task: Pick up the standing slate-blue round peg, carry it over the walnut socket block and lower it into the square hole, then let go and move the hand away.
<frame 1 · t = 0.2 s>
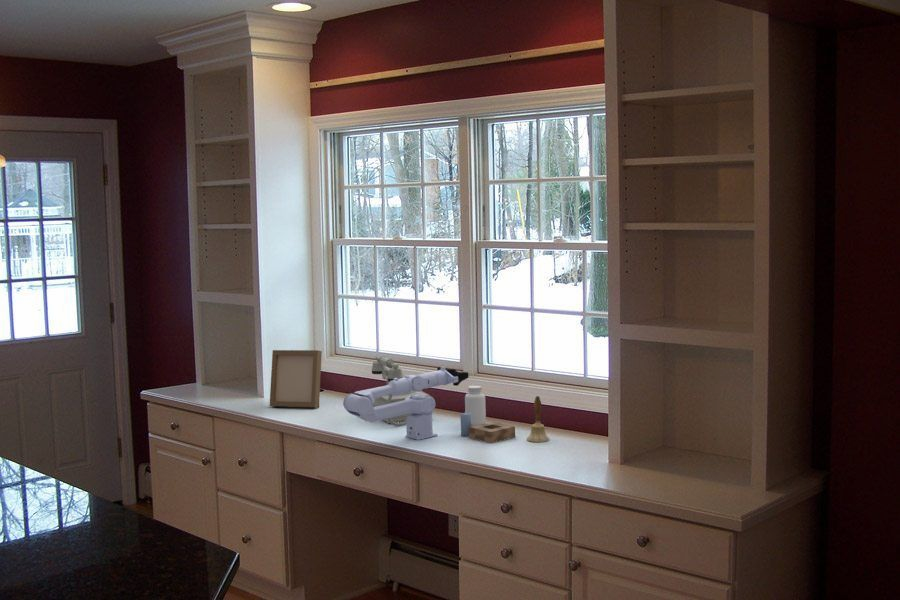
hand: (461, 373, 377), 21 cm above the countertop, tool horizontal, fingers open, 7 cm apart
photo frame: (299, 405, 434), on the countertop
hand bell: (538, 440, 355), on the countertop
pill bottle: (475, 424, 384), on the countertop
grey machine: (399, 418, 401), on the countertop
peg: (466, 435, 366), on the countertop
socket block: (492, 437, 361), on the countertop
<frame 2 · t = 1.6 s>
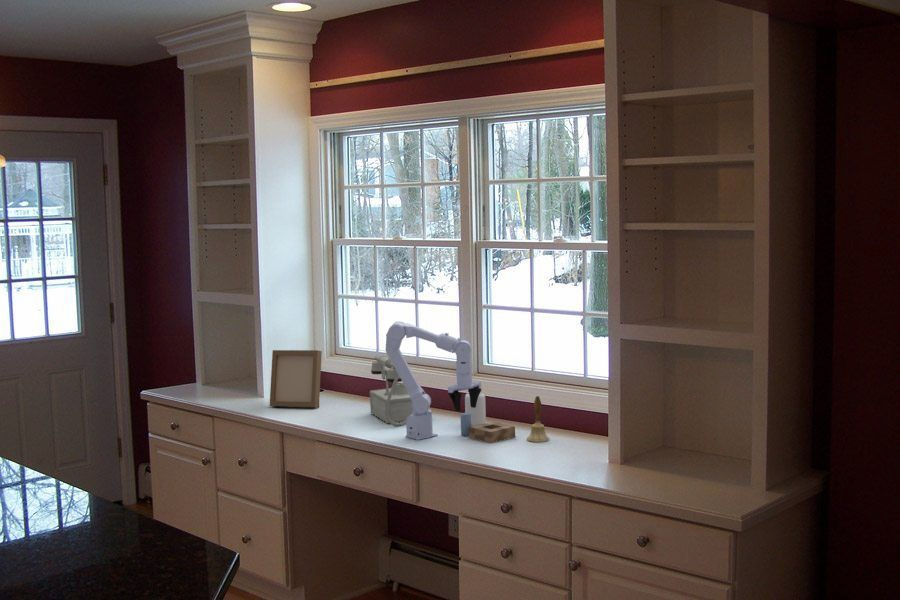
hand: (465, 409, 365), 10 cm above the countertop, tool pointing down, fingers open, 7 cm apart
nothing on the countertop moved.
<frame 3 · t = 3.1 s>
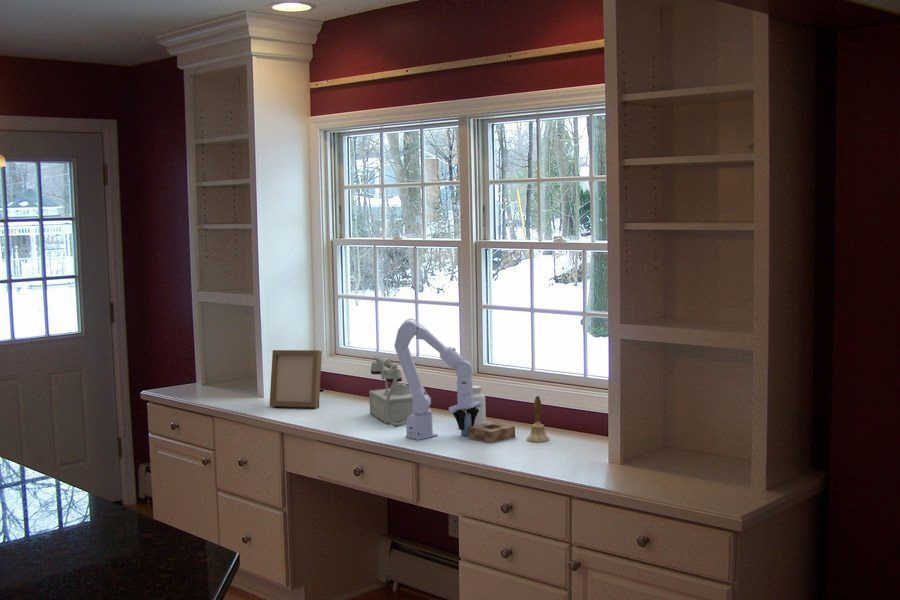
hand: (466, 428, 366), 2 cm above the countertop, tool pointing down, fingers closed on peg, 4 cm apart
peg: (466, 435, 366), on the countertop, touching gripper
everything else where it was.
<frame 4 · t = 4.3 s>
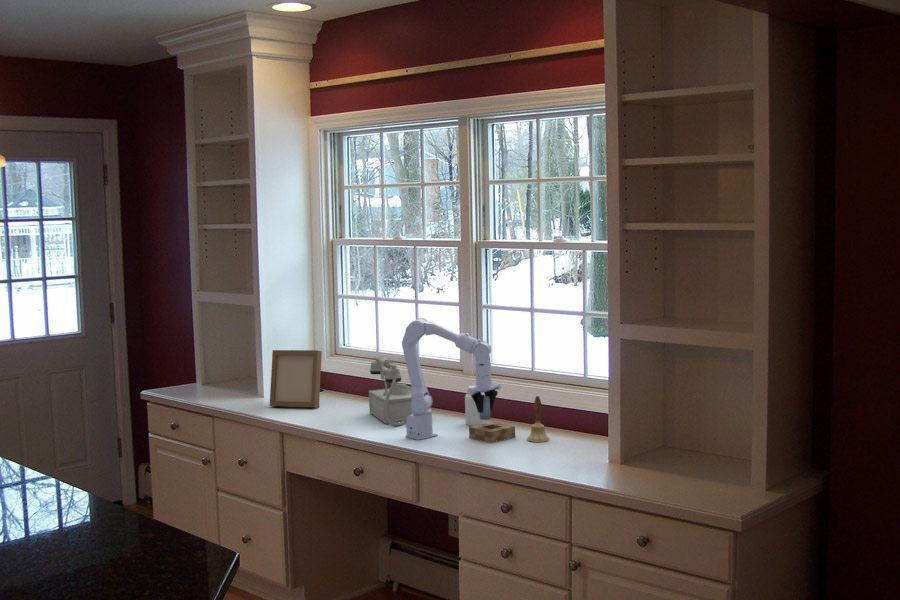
hand: (485, 411, 361), 10 cm above the countertop, tool pointing down, fingers closed on peg, 4 cm apart
peg: (485, 418, 362), point 7 cm above the countertop, touching gripper
everything else where it was.
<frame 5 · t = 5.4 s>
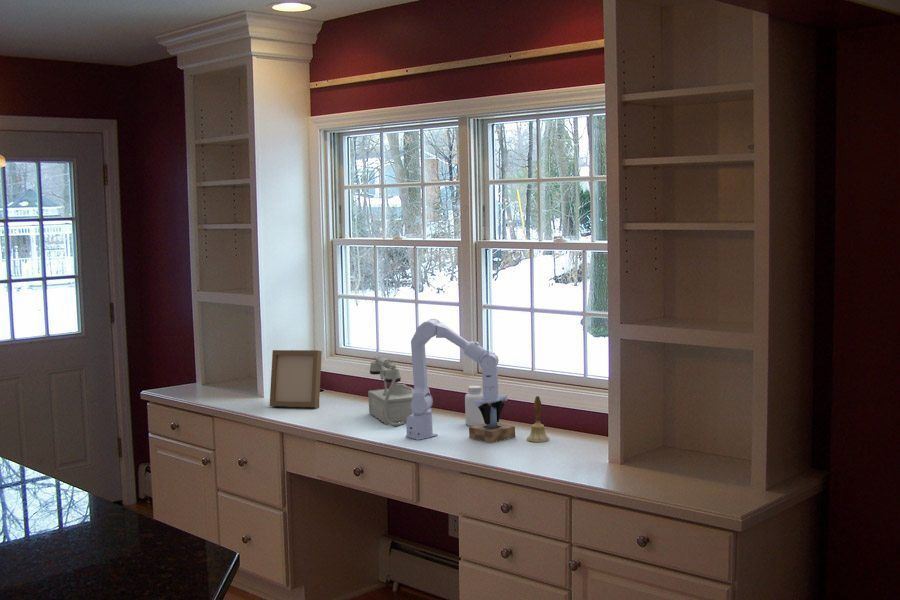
hand: (491, 422, 360), 5 cm above the countertop, tool pointing down, fingers closed on peg, 4 cm apart
peg: (491, 429, 361), point 3 cm above the countertop, touching gripper
when the fingers open (5 cm above the countertop, at t = 6.0 s): peg drops 2 cm, resting in socket block.
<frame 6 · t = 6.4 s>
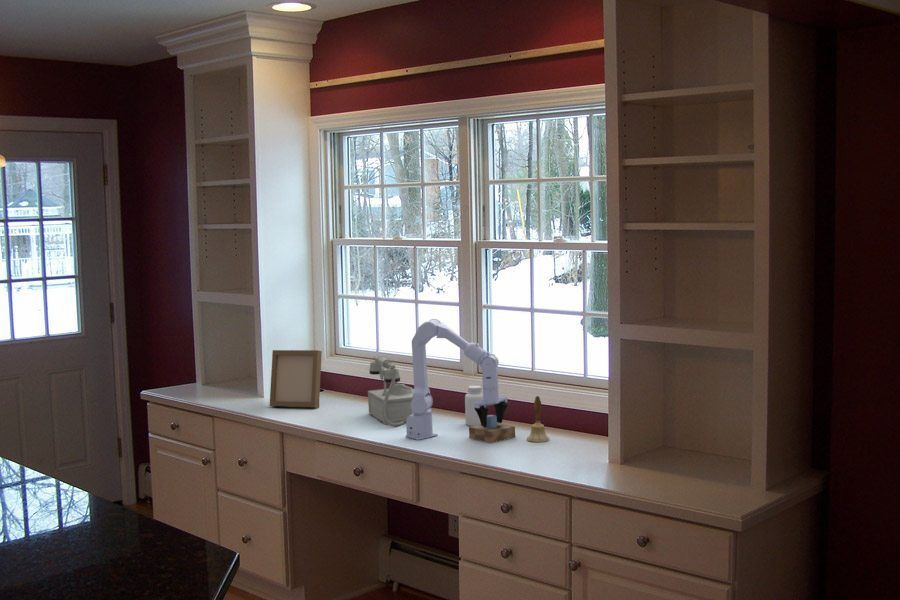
hand: (491, 424, 360), 5 cm above the countertop, tool pointing down, fingers open, 7 cm apart
peg: (492, 437, 361), resting in socket block
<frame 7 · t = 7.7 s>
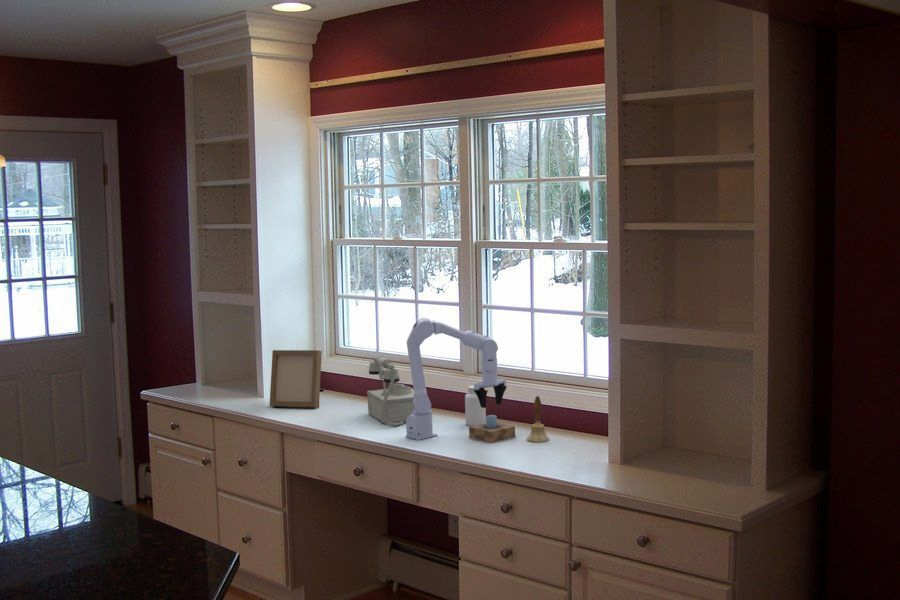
hand: (491, 405, 369), 10 cm above the countertop, tool pointing down, fingers open, 7 cm apart
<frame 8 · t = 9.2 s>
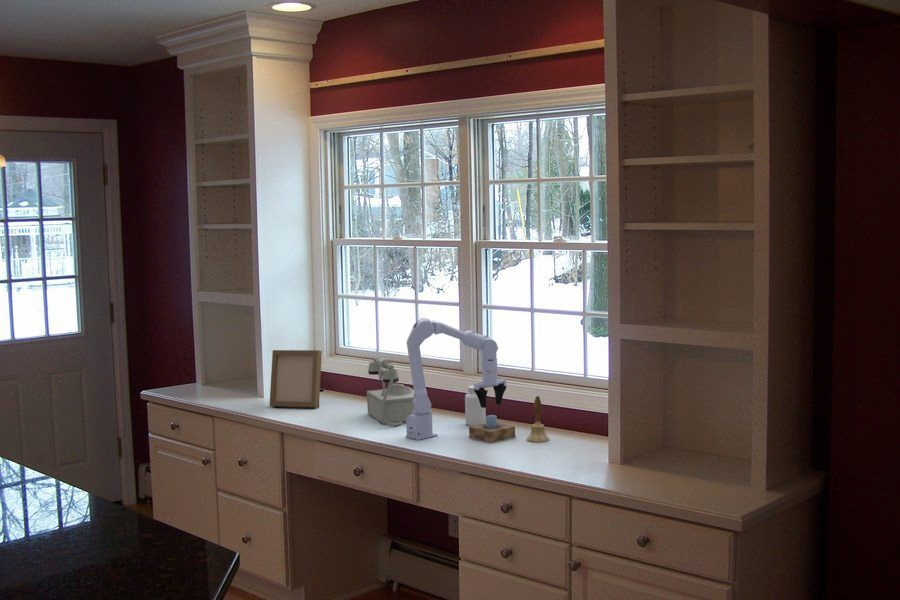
hand: (490, 405, 369), 10 cm above the countertop, tool pointing down, fingers open, 7 cm apart
at the end: peg 0.0 cm off-centre on the socket block, point 0.0 cm above the socket block's base; peg tilted 0°; the gripper is holding nothing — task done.
